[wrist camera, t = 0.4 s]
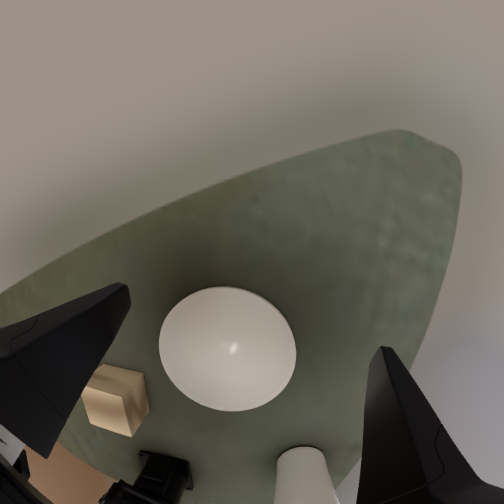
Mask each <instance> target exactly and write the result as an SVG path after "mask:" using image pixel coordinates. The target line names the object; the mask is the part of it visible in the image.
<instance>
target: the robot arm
mask: <svg viewBox="0 0 504 504" xmlns="http://www.w3.org/2000/svg"><path fill="white" fill-rule="evenodd" d="M130 307H131V298H130V293H129V288H128V286H127V285H125V284H122V283H119V282H117V283H114V284H112V285H109V286H107V287H104V288H102V289H99V290H97V291H94V292H92V293H89V294H87V295H84V296H82V297H79V298H77V299H74V300H72V301H69V302H67V303H64V304H62V305H59V306H57V307H55V308H52V309H50V310H47V311H45V312H43V313H40V314H38V315H35V316H33V317H31V318H28V319H26V320H23V321H20V322H17V323H15V324H12V325H9V326H6V327H3V328H0V504H53V503H52V502H51V501H50V500H49V499H47V498H46V497H45V496H44V495H43V494H41V493H40V492H39V491H38V490H37V489H36V488H35V487H33V486H32V485H31V484H30V483H29V482H28V479H29V477H30V472H29V467H28V462H27V456H26V451H25V450H24V447H25V446H26V445H27V446H28V447H30V448H31V449H32V450H34V451H35V452H36V453H38V454H40V455H41V456H42V457H44V458H45V459H47V458H48V457H49V455H50V453H51V451H52V449H53V446H54V444H55V442H56V440H57V439H58V437H59V435H60V433H61V431H62V429H63V427H64V425H65V423H66V420H67V419H68V417H69V415H70V413H71V412H72V410H73V408H74V406H75V404H76V403H77V401H78V399H79V397H80V395H81V394H82V392H83V390H84V388H85V387H86V385H87V383H88V382H89V380H90V378H91V376H92V375H93V373H94V371H95V370H96V368H97V366H98V365H99V363H100V362H101V360H102V358H103V357H104V355H105V353H106V352H107V350H108V349H109V347H110V345H111V344H112V342H113V340H114V339H115V337H116V335H117V333H118V331H119V329H120V327H121V325H122V323H123V321H124V319H125V317H126V315H127V313H128V311H129V310H130ZM138 455H139V458H140V461H141V464H142V467H143V468H142V470H141V472H140V473H139V475H138V477H137V479H136V481H135V482H134V484H133V486H132V485H130V484H128V483H126V482H125V481H123V480H122V479H120V481H119V482H118V483H116V482H114V483H113V485H112V486H111V488H110V489H109V490H108V492H107V493H106V494H105V495H103V496H102V498H100V500H99V501H98V503H99V504H179V503H180V500H181V497H182V494H183V491H184V489H186V490H193V488H194V487H193V482H192V477H191V472H190V466H189V463H188V462H187V461H184V460H179V459H174V458H170V457H165V456H161V455H157V454H153V453H149V452H145V451H139V453H138ZM356 504H504V489H503V488H500V487H496V486H493V485H490V484H488V483H486V482H484V481H482V480H481V479H480V478H479V477H478V476H477V475H476V473H475V472H474V470H473V469H472V468H471V467H470V465H469V464H468V462H467V461H466V459H465V458H464V456H463V455H462V454H461V452H460V451H459V450H458V448H457V446H456V445H455V444H454V442H453V441H452V439H451V437H450V436H449V434H448V433H447V431H446V429H445V428H444V426H443V424H441V421H440V420H439V418H438V416H437V415H436V413H435V412H434V410H433V408H432V407H431V405H430V404H429V402H428V401H427V399H426V398H425V396H424V394H423V393H422V391H421V390H420V388H419V387H418V385H417V384H416V382H415V381H414V379H413V378H412V376H411V375H410V373H409V372H408V370H407V369H406V367H405V366H404V364H403V363H402V361H401V360H400V358H399V357H398V356H397V354H396V353H395V351H394V350H393V349H392V348H391V347H386V346H381V347H379V349H378V350H377V352H376V353H375V355H374V357H373V358H372V360H371V362H370V365H369V372H368V382H367V390H366V398H365V407H364V431H363V447H362V460H361V471H360V479H359V487H358V494H357V501H356Z"/></svg>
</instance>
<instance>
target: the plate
mask: <svg viewBox="0 0 504 504" xmlns="http://www.w3.org/2000/svg"><path fill="white" fill-rule="evenodd" d="M159 352H160V358H161V361H162V364H163V367H164V369H165V371H166V373H167V375H168V376H169V378H170V380H171V381H172V382H173V383H174V385H175V386H176V387H177V388H178V389H179V390H180V391H181V392H182V393H184V394H185V395H186V396H187V397H189V398H190V399H192V400H193V401H195V402H197V403H199V404H201V405H204V406H206V407H209V408H213V409H216V410H222V411H244V410H249V409H253V408H256V407H259V406H261V405H263V404H266V403H267V402H269V401H270V400H272V399H273V398H275V397H276V396H277V395H278V394H279V393H280V392H281V391H282V390H283V389H284V388H285V386H286V385H287V384H288V382H289V380H290V378H291V376H292V374H293V371H294V368H295V362H296V347H295V341H294V337H293V334H292V330H291V328H290V326H289V324H288V322H287V320H286V319H285V317H284V316H283V315H282V313H281V312H280V311H279V310H278V309H277V308H276V307H275V306H274V305H273V304H272V303H271V302H269V301H268V300H266V299H265V298H264V297H262V296H260V295H258V294H256V293H254V292H251V291H249V290H246V289H242V288H238V287H231V286H216V287H209V288H205V289H202V290H199V291H197V292H194V293H192V294H191V295H189V296H187V297H186V298H184V299H183V300H182V301H180V302H179V303H178V304H177V305H176V306H175V307H174V308H173V309H172V310H171V311H170V312H169V314H168V315H167V317H166V319H165V321H164V323H163V325H162V328H161V332H160V337H159Z"/></svg>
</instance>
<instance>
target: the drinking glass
mask: <svg viewBox="0 0 504 504" xmlns="http://www.w3.org/2000/svg"><path fill="white" fill-rule="evenodd" d="M273 504H340V503H339V500H338V498H337V495H336V492H335V489H334V486H333V483H332V480H331V478H330V475H329V472H328V469H327V465H326V460H325V457H324V455H323V453H322V452H321V451H320V450H318V449H316V448H313V447H296V448H293V449H290V450H288V451H286V452H284V453H283V454H282V455H281V456H280V457H279V459H278V461H277V475H276V484H275V492H274V499H273Z"/></svg>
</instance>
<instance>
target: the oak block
mask: <svg viewBox="0 0 504 504" xmlns="http://www.w3.org/2000/svg"><path fill="white" fill-rule="evenodd" d="M81 395H82V399H83V402H84V406H85V409H86V412H87V415H88V418H89V421H90V423H91V424H93V425H96V426H99V427H102V428H105V429H107V430H110V431H113V432H116V433H120V434H123V435H126V436H130V437H132V436H133V435H134V433H135V432H136V431H137V429H138V428H139V426H140V425H141V423H142V422H143V420H144V419H145V417H146V416H147V415H148V413H149V412H150V409H149V404H148V398H147V392H146V386H145V380H144V373H141V372H136V371H131V370H127V369H122V368H118V367H114V366H110V365H106V364H103V365H101V366H100V367H99V368H98V369H96V370H95V371H94V373H93V375H92V376H91V378H90V380H89V382H88V383H87V385H86V387H85V388H84V390H83V392H82V394H81Z"/></svg>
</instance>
